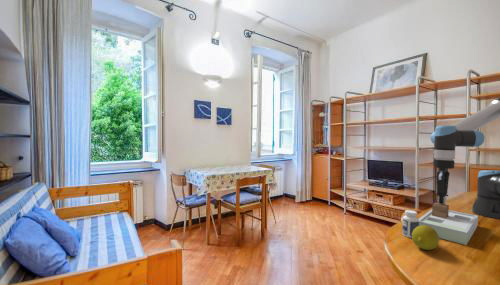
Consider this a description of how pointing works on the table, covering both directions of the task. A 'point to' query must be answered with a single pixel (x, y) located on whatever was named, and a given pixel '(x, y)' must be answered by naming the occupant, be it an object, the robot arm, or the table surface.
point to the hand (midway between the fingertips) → (441, 209)
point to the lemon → (425, 237)
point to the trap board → (452, 225)
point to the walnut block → (440, 210)
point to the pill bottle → (409, 223)
